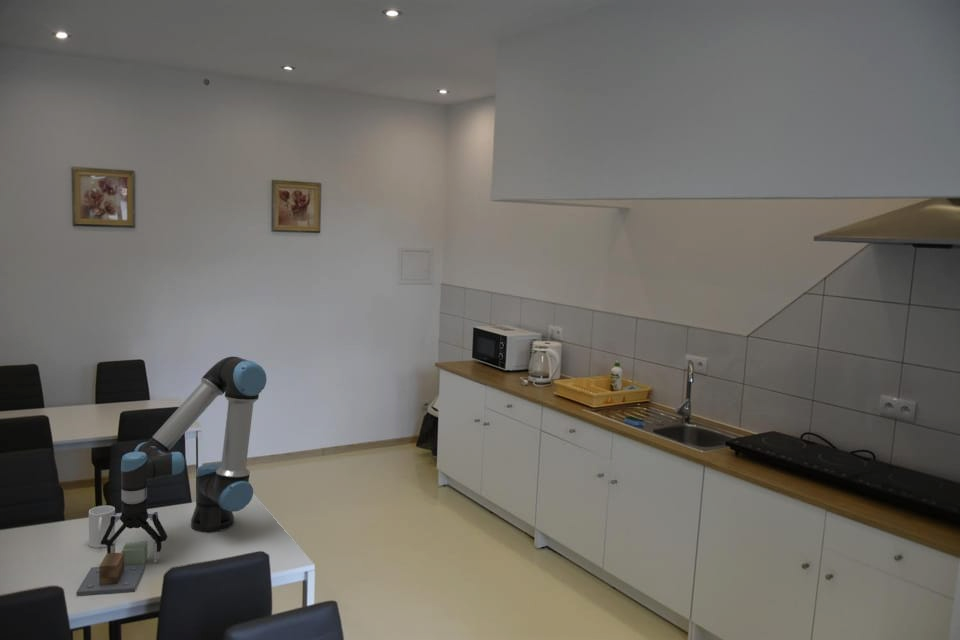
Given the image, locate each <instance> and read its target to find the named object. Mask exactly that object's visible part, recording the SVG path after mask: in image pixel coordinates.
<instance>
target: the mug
mask: <svg viewBox="0 0 960 640" xmlns="http://www.w3.org/2000/svg"><path fill="white" fill-rule="evenodd" d="M113 514H116V508H115V506H114V505H113V506H112V505H98V506H95V507H92V508H90V509H89V510H88V543H87V544H88V546H89V547H90V548H97V549H98V548H99V549H102V548H107V547H106V546H107V545H105V544H103V545H102V544H101V541H102V539H103V537H104V535H105V533H106V531H107V529H108V527H109V525H110V521H111V517H112V515H113ZM115 533H116V523H115V524H114V526H113V528H112V530H111V532H110V534H109V536H108V538H107V539H108V540H110V539H111V538H112V536H113V535H114V534H115ZM116 541H117V539H116V540H115V541H114V542H113V543H115V544H116ZM101 547H102V548H101Z"/></svg>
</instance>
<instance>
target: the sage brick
mask: <svg viewBox="0 0 960 640" xmlns="http://www.w3.org/2000/svg"><path fill="white" fill-rule="evenodd" d="M124 544H125V545H124V546H123V548H122V550H121V553H123V552H124V565H138V564H146V562H147V560H148V558H149V557H148V552H149V550H148V541H145V540H144V541H143V540H142V541H128V542H125V543H124Z"/></svg>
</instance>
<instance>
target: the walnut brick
mask: <svg viewBox="0 0 960 640" xmlns="http://www.w3.org/2000/svg"><path fill="white" fill-rule="evenodd" d="M98 567H99V585H108V584H118V582H119V580H120V578H121V576H122V574H123V572H124V552H123V553H122V552H115V553H107V552H106V554H105V556H104V557H103V559H102V561H101V562H100V565H99V566H98Z"/></svg>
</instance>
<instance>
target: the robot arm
mask: <svg viewBox="0 0 960 640" xmlns="http://www.w3.org/2000/svg"><path fill="white" fill-rule="evenodd" d="M200 380H201V382H200V384H199V385H197V387H196V388H195V389H194V390H193V391H192V392H191V394H190V395H189V396H188V397H187V398H186V399H184V401H183V402H182V404H180V405H179V407H178V408H177V409H176V410H175V411H174V412H173V413H172V414H171V416H170V417H169V418H168V419H167V420H166V421H165V422H164V423H163V425H161V427H160V428H159V429H158V430H156V432H155V433H154V434H153V435H152V437H150V439H149V440H148V441H144V442H141V443H139V444H137V446H136V447H135V449H134V451H131V452H127V453H125V454H124V455H122V458H121V463H120V465H121V466H120V473H121V475H120V476H121V481H120V482H121V491H120V492H121V499H120V500H121V513H120V514H116V513H115V514H113V515H112V517H111V521H110V525H109V527H108V529H107V531H106V533H105V535H104V537H103V539H102V541H101V544H102V545H103V544H105V545H107V547H106V554H107V553H116V542H115V543H113V542H114V541H115V540H116V541H117V538H119V537H120V535H121V534H122V533H123V532H124V530H125V529H127V528H128V529H134V528H135V529H139V528H142V530H144V532H146V533H147V534H148V535H149V537H151V538H152V540H154V544H153V562H154V564H157V563H158V560H159V553H161V551H162V542H166V541H167V539H168V536H169V535H168V534H167V532H166V530H165V528H164V527H163V525H162V523H161V520H160V519H159V513H158V512H157V511H155V512H153V513H149V512H148V499H147V498H148V481H149V480H155V479H160V478H166V477H171V476H172V477H173V476H174V475H175V476H176V475H178V474H181V473H183V472H184V469H185V467H186V461H185V457H184V455H183V453H182V452H180V451H171V452H169V451H170V450H171V449H172V448H173V447H174V446H175V444H177V442H179V440H180V439H181V438H182V436H183V435H185V433H186V432H187V431H188V430H189V429H190V428H191V426H193V424H194V423H195V422H196V421H197V420H198V418H199V417H200V416H201V415H202V414H203V413H204V412H205V411H206V410H207V409H208V407H210V405H211V404H212V403H213V402H214V401H215V400H216V398H217V397H218V396H223V395H224V397H225V399H226V400H227V402H228V403H227V410H226V411H227V412H226V422H225V428H224V429H225V430H224V438H223V448H222V454H221V455H222V456H221V462H212V463H207V464H202V465H200V466H198V467H197V468H196V472H195V509H194V511H193V514H192V517H191V519H190V528H191V529H193V530H194V531H196V532H202V533H212V532H219V531H224V530H226V529H229V528H230V527H232V526H233V525H234V523H235V521H234V520H235V515H234V513H235V512H238V511H241V510H243V509H245V508H246V507H247V505H249V504H250V502H251V501H252V500H253V496H254V489H253V488H254V487H253V486H252V484H251V483H250V474H251V473H250V471H249V469H248V468H247V462H248V452H249V444H250V436H251V435H250V434H251V427H252V420H253V412H254V411H253V410H254V403H255V402H257V400H259V396H260V395H259V394H260V393H262V391H263V390H264V389H265V387H266V386H267V385H266V384H267V374H266V372H265V369H264V368H263V367H262V366H261V365H260V364H258V363H256V362H255V361H252V360H249V359H245V358H241V357H239V356H228V357H224V358H222V359H221V360H219V361H217V362H216V363H215V364H214V365H212V366H211V368H210V369H208V370H207V372H206V373H205V374H204V375H203V376H202V377H201V379H200ZM148 519H150V521H152V523H153V525H154V527H155V529H154V528H153V527H152V526H151V525H150V523H149V522H148ZM119 520H120V521H121V523H122V525H121V526H120V527H119V528H118V530H117V531H115V534H114V535H113V536H112V538H111V539H110V540H108V539H107V538H108V536H109V534H110V532H111V530H112V528H113V526H114V524H115V525H116V523H117V522H118V521H119ZM156 530H157V531H156Z"/></svg>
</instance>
